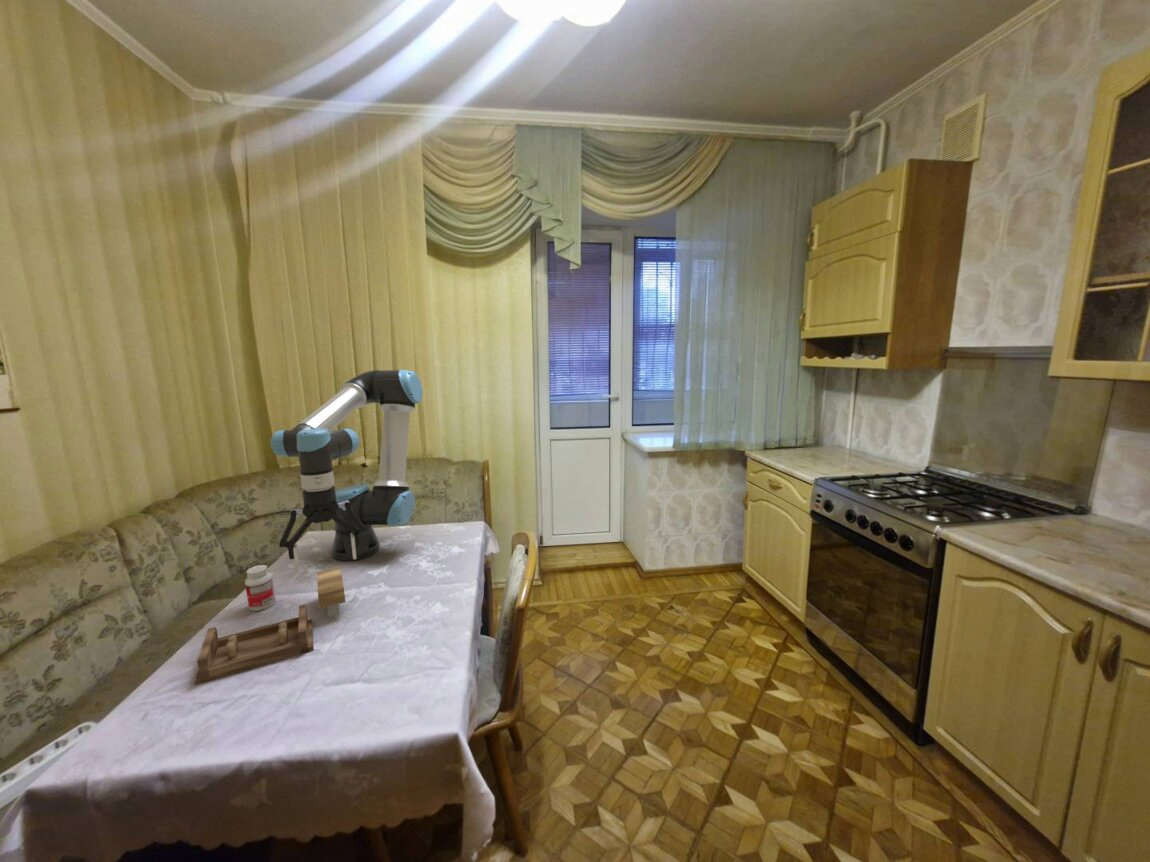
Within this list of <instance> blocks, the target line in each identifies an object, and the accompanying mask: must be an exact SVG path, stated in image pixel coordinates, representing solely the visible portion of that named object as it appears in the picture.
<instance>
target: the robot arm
mask: <svg viewBox="0 0 1150 862" xmlns="http://www.w3.org/2000/svg"><path fill="white" fill-rule="evenodd" d="M422 398H423V385H422V382H421V379H420V377H419V376H418V374H417V373H416V372H415V371H413V370H407V369H393V370H392V369H390V370H389V369H388V370H381V369H380V370H377V369H374V370H368V371H365V372H362V373H359V374H358V375H356V376H354V377H352V378H351V379H349V380H348V381H347V380H346V382H345V383H343V384H342V385H341V386H340V387H339V390H338V392H337V393H336V394H335V395H333V396H332V397H331V398H330V399H328V400H327V401H325V402H324V403H323V404H322V405H321V406H320V407H318V408H316V409H315V410H314V411H313V412H312V413H310V414H309V415H308V416H306V417H305V418H304V419H303V420H302V421H301V422H299V423H298V424H297V425H295V426H293V428H291V429H281V430H277V431H276V432H274V433H273V435H272V436H271V438H270V447H271V450H272V452H273V453H274V454H275V455H276V456H279V457H288V458H298V463H299V470H300V471H299V473H300V481H301V483H300V484H301V488H302V489H303V490H302V499H303V507H302V508H296V507H292V508H291V509H290V518H289V519H288V521H287V525H286V526H285V528H284V531H283V534H282V535H281V538H280V540H279V544H278V547H279V548H287V551H288V558H289V560H294V567H295V572H300V561H299V553H298V544H297V542H298V541H299V539H300V538H301V537H302V536H303V534H304V533H305V532H306V531H307V529H308V528H309V527H310V525H312V523H314V524H320V523H323V522H325V523H326V522H330V521H331V520H333V524H334V530H335V531H334V532H335V534H334V539H333V543H332V547H331V556H332V558H333V559H334V560H336V561H342V562H345V561H346V562H347V561H348V562H349V561H355V560H356V561H357V560H361V559H364V558H367V557H370V556H372V555H374V554H375V553H377V552H378V551H379V549H380V540H379V538H378V536H377V534H376V532H375V529H374V527H373V526H389V527H391V526H392V527H393V526H394V527H395V526H403V525H405V524H406V523H408V522H409V520H410V519H411V518H412V515H413V514H414V511H415V506H416V498H415V494H414V492H412V491H410V485H409V484H408V483H407V481H406V474H407V473H406V470H407V460H408V456H407V455H408V446H409V445H408V444H409V432H410V431H409V429H410V417H411V413H413V411H415V410H416V409H415V408H416V404H419V403H421V401H422ZM376 403H377V404H379V408H380V409H381V411H383V419H382V433H381V442H380V443H381V444H380V454H379V456H380V457H379V465H378V466H379V468H378V480H377V481H376V482H375V483H374V484H373V485H372V490H370V487H369V485H368V484H365V483H364V484H355V485H354V484H353V485H350V486H346V487H343V488H340V489H338V490H336V487H335V486H334V485H335V474H334V466H333V461H335V460H339V459H341V458H343V457H347V456H350V455H351V454H353V453H355V452H357V450H358V448H359V447H360V438H359V436H358V434H357V433H356V431H354V430H353V429H351V428H339V429H336V430H335V428H336V427H337V426H339V425H340V424H341V423H342V422H343V421H344V420H345V419H346V418H348V416H350V415H352V413H353V412H354V411H355V410H356V409H361V408H363V407H364V406H366V405H369V404H376ZM302 514H303V516H305V517H306V518H305V519H304V521H303V522H302V523H301V525H300V526H299V528H298V529H297V530H296V531H295V533H294V534H293V535H292V536H291V538H290V539H289V536H290V534H291V533H292V532H291V531H292V530H293V529H294V526H295V523H296V520H297V518H299V517H300V516H301V515H302Z"/></svg>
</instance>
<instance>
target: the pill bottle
mask: <svg viewBox="0 0 1150 862" xmlns="http://www.w3.org/2000/svg"><path fill="white" fill-rule="evenodd" d="M244 585H245V591H246V592H245V593H246V599H247V604H248V609H249V610H250V611H252V612H259V610H260V611H263V609H264V610H266V609H269V608H271V607H272V606H273V605H274V604H275V603H276V595H275V590H274V583H273V576H272V574H271V572H269V571H268V566H267V565H265V564H264V565H263V564H258V565H253V566H252V567H250V568H248V569H247V570H246V579H245V581H244Z"/></svg>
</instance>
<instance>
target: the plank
mask: <svg viewBox="0 0 1150 862" xmlns="http://www.w3.org/2000/svg"><path fill="white" fill-rule="evenodd" d="M316 582H317V583H316V585H317V596H318V597H317V598H318V606H319V610H320V609H321V610H322V609H324V608H327V607H329V606H333V605H337V604H339V605H340V604H344V603H346V596H345V589H344V580H343V575H342V569H341V566H338V567H333V568H330V569H326V570H321V571H316Z"/></svg>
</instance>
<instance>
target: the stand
mask: <svg viewBox="0 0 1150 862" xmlns="http://www.w3.org/2000/svg"><path fill="white" fill-rule="evenodd" d="M339 605H340V604H337V605H333V606H329V607H326V610H327V617H328V618H331V617H334V616H338V615H341V614H340V613H341V611H340V606H339Z"/></svg>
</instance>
